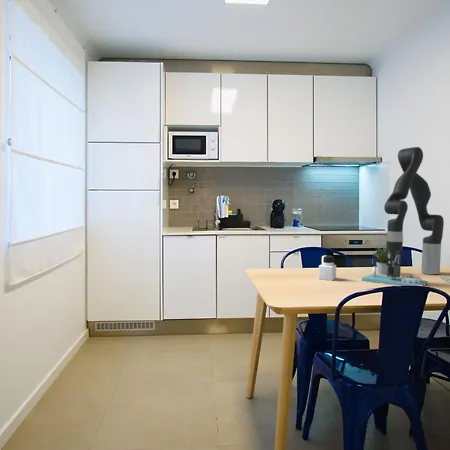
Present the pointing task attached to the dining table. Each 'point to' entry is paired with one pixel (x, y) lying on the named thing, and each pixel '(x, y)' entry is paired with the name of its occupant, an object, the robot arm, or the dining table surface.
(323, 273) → the medicine bottle
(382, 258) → the house plant
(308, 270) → the dining table surface
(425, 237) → the robot arm
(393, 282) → the gear board
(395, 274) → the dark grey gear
